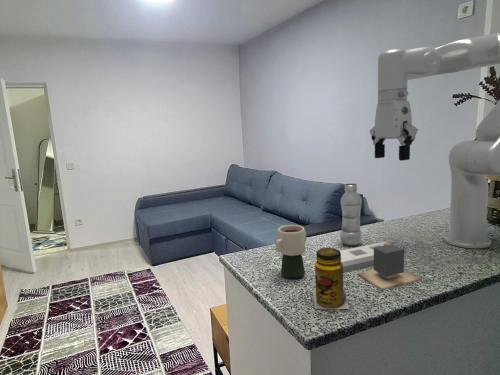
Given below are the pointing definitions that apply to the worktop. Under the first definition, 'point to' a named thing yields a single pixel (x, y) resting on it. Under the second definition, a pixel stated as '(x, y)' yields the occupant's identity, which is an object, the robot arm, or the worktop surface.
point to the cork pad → (385, 283)
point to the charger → (389, 260)
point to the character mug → (291, 249)
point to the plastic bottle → (351, 215)
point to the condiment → (329, 280)
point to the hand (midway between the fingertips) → (391, 158)
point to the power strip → (359, 257)
